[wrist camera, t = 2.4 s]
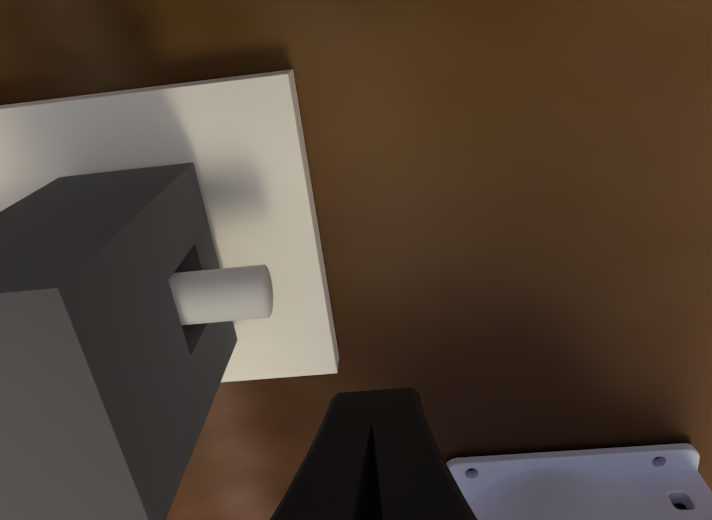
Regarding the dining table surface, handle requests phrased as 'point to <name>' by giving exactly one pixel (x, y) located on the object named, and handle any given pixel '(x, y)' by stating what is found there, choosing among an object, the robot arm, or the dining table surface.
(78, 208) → the grey square sleeve
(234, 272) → the pipe stand
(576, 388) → the dining table surface
